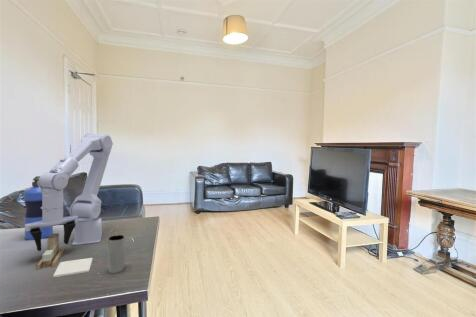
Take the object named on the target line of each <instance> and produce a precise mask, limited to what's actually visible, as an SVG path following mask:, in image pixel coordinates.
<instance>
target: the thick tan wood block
mask: <svg viewBox="0 0 476 317" xmlns="http://www.w3.org/2000/svg"><path fill="white" fill-rule="evenodd" d="M46 239H47V240H46V246H47V247H46V248H47V249H46V250H53V249H54V259H55V257H56V255H57V254H58V252H59V251H60V233H59V232H57V233H53V234H51V236H50V237H47V238H46Z"/></svg>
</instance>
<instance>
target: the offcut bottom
mask: <svg viewBox="0 0 476 317" xmlns="http://www.w3.org/2000/svg"><path fill="white" fill-rule="evenodd" d="M53 260H54V256H53V257H52V259H51V260H50V261H44V262H43V265H42V268H48V267H52V262H53Z"/></svg>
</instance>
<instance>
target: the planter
mask: <svg viewBox="0 0 476 317" xmlns="http://www.w3.org/2000/svg"><path fill="white" fill-rule="evenodd" d="M125 239H126V238H125V235H122V234H115V235H111V236H109V237H108V238H107V248H108V249H107V250H108V251H107V255H108V256H107V261H108V262H107V270H108V271H107V272H108V273H110V274H118V273H120V272H122V271H124V269H125Z"/></svg>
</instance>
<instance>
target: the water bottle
mask: <svg viewBox="0 0 476 317" xmlns="http://www.w3.org/2000/svg"><path fill="white" fill-rule="evenodd" d="M40 176H41V175H37V176H35V177H34V178H33V179H32V182H31V186H32V187H30V188H29V189H27V190H25V191H23V200H24V205H25V214H24V225H25V224H29V223H33V222H37V221H41V220H42V193H41V189H40V188H39V186H38V184H37V181H39V178H40ZM39 229H40V231H41V232H42V234H41V240H42V239H48V238H49V237H50V236H51V234H54V226H50V227H44V228H39ZM24 240H26V241H35V240H34V238H33V237H32V235H31V233H30V232H29V231H25V230H24Z"/></svg>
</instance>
